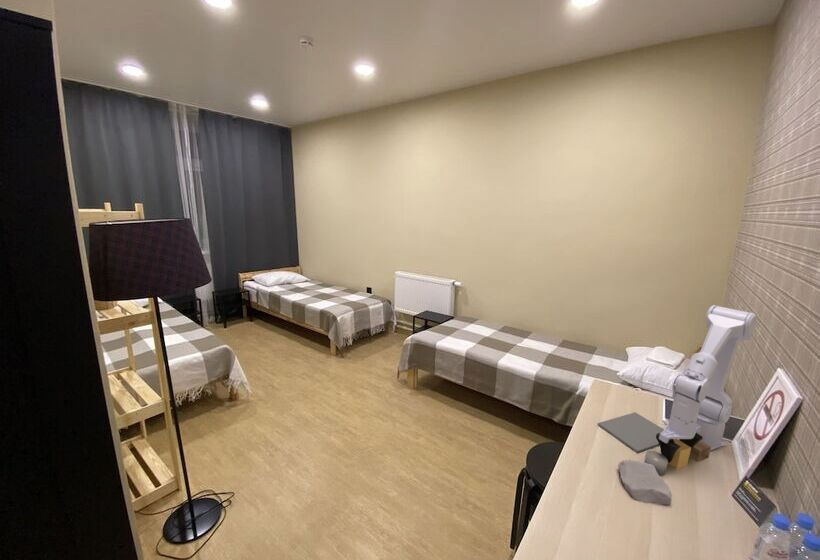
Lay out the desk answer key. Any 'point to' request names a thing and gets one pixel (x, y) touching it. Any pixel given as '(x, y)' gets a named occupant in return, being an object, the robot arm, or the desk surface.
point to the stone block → (644, 482)
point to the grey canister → (657, 461)
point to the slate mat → (633, 431)
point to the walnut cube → (700, 451)
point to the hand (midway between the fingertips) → (674, 456)
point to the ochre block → (680, 455)
